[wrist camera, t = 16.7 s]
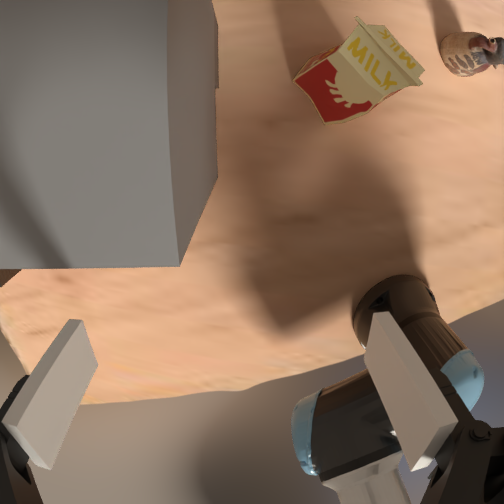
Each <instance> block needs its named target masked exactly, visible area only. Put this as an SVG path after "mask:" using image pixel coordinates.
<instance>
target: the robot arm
mask: <svg viewBox="0 0 504 504" xmlns="http://www.w3.org/2000/svg"><path fill="white" fill-rule="evenodd" d="M353 324H354V331H355V334H356V336H357V338H358V340H359V342H360V344H361V345H362V347H363V348H364V349H365V350H366V351H365V356H364V362H365V364H366V366H367V369H365V370H363V371H361V372H359V373H357V374H355V375H353V376H351V377H349V378H347V379H344V380H342V381H340V382H338V383H336V384H333V385H331V386H329V387H327V388H325V387H324V388H321V389H320V390H319V391H318V392H316V393H314V394H312V395H309V396H307V397H305V398H303V399H301V400H300V401H299V402H298V403H297V404H296V406H295V408H294V410H293V414H292V420H291V421H292V422H291V428H292V438H293V444H294V448H295V452H296V455H297V458H298V460H299V461H300V463H301V467H302V468H303V470H304V471H305V472H306V473H307V474H309V475H318V474H319V477H320V480H321V483H322V485H324V486H327V487H329V488H331V489H334V490H335V491H336V492H337V494H338V497H339V500H340V503H341V504H411V501H410V498H409V496H408V493H407V490H406V488H405V485H404V482H403V480H402V477H401V474H400V472H399V469H398V464H399V462H400V459H401V457H402V455H403V453H404V455H405V458H406V460H407V463H408V465H409V468H410V471H414V470H417V469H420V468H423V467H427V466H429V464H430V463H431V462H432V460H433V459H434V458H435V459H436V461H437V464H438V465H437V466H436V467H435V469H434V470H433V471H432V472H431V474H430V475H429V477H428V479H430V478H431V480H430V483H429V485H428V487H427V490H426V492H425V494H424V496H423V499H422V501H421V503H420V504H504V427H501V428H491V427H490V426H489V425H488V424H487V423H485V422H483V421H479V420H475V419H474V418H473V416H472V415H471V413H470V410H471V409H472V408H473V406H474V405H475V403H476V402H477V400H478V398H479V397H480V394H481V392H482V389H483V385H484V373H483V370H482V368H481V367H480V365H479V364H478V362H477V361H476V359H475V357H474V355H473V353H472V352H471V351H470V350H469V349H468V348H467V347H466V346H465V345H464V343H463V342H462V341H461V340H460V339H459V337H458V336H457V335H456V334H455V333H454V332H453V330H452V329H451V328H450V327H449V326H448V325H447V323H446V322H445V321H444V320H443V319H442V318H441V316H440V313H439V310H438V307H437V304H436V301H435V298H434V295H433V293H432V291H431V290H430V289H429V287H428V286H427V285H426V284H425V283H424V282H423V281H421V280H420V279H418V278H416V277H414V276H410V275H399V276H394V277H391V278H388V279H386V280H384V281H382V282H380V283H379V284H377V285H376V286H374V287H373V288H372V289H371V290H370V291H369V292H368V293H367V294H366V295H365V296H364V297H363V299H362V300H361V302H360V303H359V305H358V307H357V309H356V312H355V316H354V323H353ZM97 367H98V363H97V360H96V358H95V355H94V352H93V349H92V347H91V344H90V341H89V338H88V335H87V332H86V329H85V326H84V323H83V320H74V319H69V320H68V322H67V323H66V324H65V326H64V327H63V328H62V330H61V331H60V333H59V334H58V335H57V337H56V338H55V340H54V341H53V342H52V344H51V345H50V347H49V348H48V349H47V351H46V352H45V354H44V355H43V357H42V358H41V360H40V361H39V363H38V364H37V366H36V367H35V369H34V370H33V372H32V373H31V375H25V376H24V377H23V378H22V379H20V380H19V381H18V382H17V384H16V385H15V387H14V388H13V390H12V392H11V393H10V394H9V396H8V399H6V401H5V402H4V404H3V405H2V407H1V409H0V504H43V502H42V499H41V496H40V494H39V491H38V488H37V486H36V483H35V480H34V477H33V474H32V471H31V468H30V467H29V465H28V464H27V462H28V459H29V458H30V459H31V460H32V461H33V462H34V463H35V464H36V466H39V467H42V468H46V469H49V470H52V467H53V465H54V462H55V460H56V457H57V455H58V452H59V450H60V448H61V445H62V443H63V440H64V438H65V436H66V433H67V431H68V429H69V427H70V424H71V422H72V419H73V417H74V415H75V413H76V411H77V408H78V406H79V404H80V402H81V400H82V398H83V396H84V394H85V391H86V389H87V387H88V385H89V383H90V381H91V379H92V377H93V375H94V373H95V371H96V369H97Z"/></svg>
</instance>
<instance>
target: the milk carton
mask: <svg viewBox="0 0 504 504" xmlns="http://www.w3.org/2000/svg"><path fill="white" fill-rule="evenodd" d="M354 18H355V19H356V20H357V22H358V23H359V25H358V26H357V27H356V29H355V30H354V31H353V32H352V34H351V35H350V36H349V37H348V39H347V40H346V41H345V42H344V44H341V45H339V46H337V47H335V48H332V49H330V50H328V51H325V52H323V53H321V54H319V55H316V56H314V57H312V58H310V59H309V60H308V61H307V62H306V64H305V65H304V66H303V68H302V69H301V70H300V71H299V73H298V74H297V75H296V76H295V78H294V79H293V80H292V81H293V82H294V83H295V84H296V85H297V86H298V87H299V88H300V89H301V90H302V91H303V92H304V93H305V94H306V95H307V96H308V97H309V98H310V100H311V102H312V103H313V105H314V107H315V109H316V110H317V112H318V114H319V116H320V118H321V119H322V121H323V123H324V125H329V124H337V123H345V122H347V121H350V120H352V119H354V118H357V117H359V116H362V115H364V114H367V113H368V112H369V111H371V110H372V109H373V108H374V107H376V106H377V105H378V104H379V103H381V102H382V101H383V100H385V99H386V98H388V97H390V96H391V95H393V94H395V93H396V92H398V91H400V90H401V89H403V88H405V87H408V86H420V85H422V84H423V83H422V82H421V81H420V79H419V78H418V77H419V76H420V75H421V74H422V73H423V72H424V71H425V70H424V68H423V67H422V66H421V65H420V64H419V63H418V62H417V61H416V60H415V59H414V58H413V57H412V56H411V55H410V54H409V53H408V52H407V51H406V50H405V49H404V48H403V47H402V46H401V45H400V44H399V43H398V41H397V40H396V39H395V38H394V37H393V35H392V34H391V33H390V32H389V31H388V29H387V28H386V27H385V26H384V25H366V24H365V23H364V22H363V21H362V20H361V19H360V18H359V17H358V16H356V17H354Z"/></svg>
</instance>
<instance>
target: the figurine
mask: <svg viewBox="0 0 504 504" xmlns="http://www.w3.org/2000/svg"><path fill="white" fill-rule="evenodd" d="M440 52H441V57H442V60H443V62H444V64H445V66H446V67H447V68H448V69H449V70H450V71H451V72H452V73H453V74H455V75H457V76H461V77H467V76H472V75H474V74H476V73H480V72H482V71H485V70H486V69H487V68H488V67H489V66H490V65H493V66H494V68H495V69H496V68H497V67H498V64H504V39H503V38H502V37H497V38H493V37H490V38H489V39H487V38H486V37H485V36H484V35H482V34H480V33H476V32H461V33H453V34H450V35H448V36H446V37H445V38H444V39H443V40H442V42H441V45H440Z"/></svg>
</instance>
